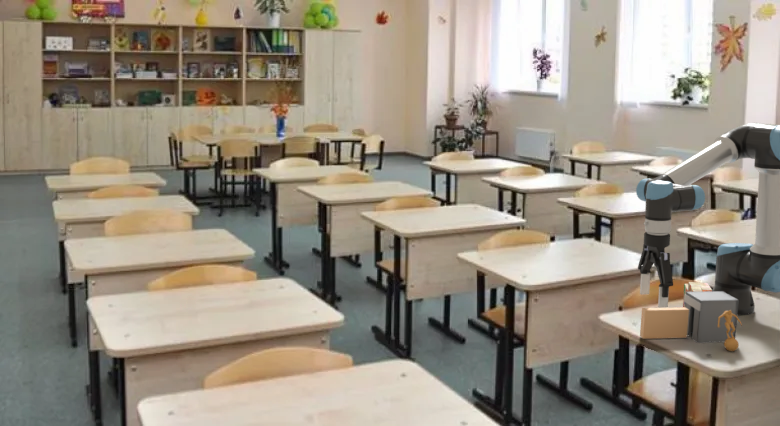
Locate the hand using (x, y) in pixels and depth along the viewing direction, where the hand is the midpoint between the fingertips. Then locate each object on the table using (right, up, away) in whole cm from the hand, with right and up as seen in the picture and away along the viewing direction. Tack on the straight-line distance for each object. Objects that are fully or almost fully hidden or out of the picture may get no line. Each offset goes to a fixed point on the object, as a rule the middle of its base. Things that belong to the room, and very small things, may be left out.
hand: (653, 300), depth 259 cm
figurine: (+20, -14, -7) cm, 25 cm away
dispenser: (+18, -12, +4) cm, 22 cm away
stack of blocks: (+21, -9, +22) cm, 32 cm away
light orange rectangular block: (+4, -11, +2) cm, 12 cm away
